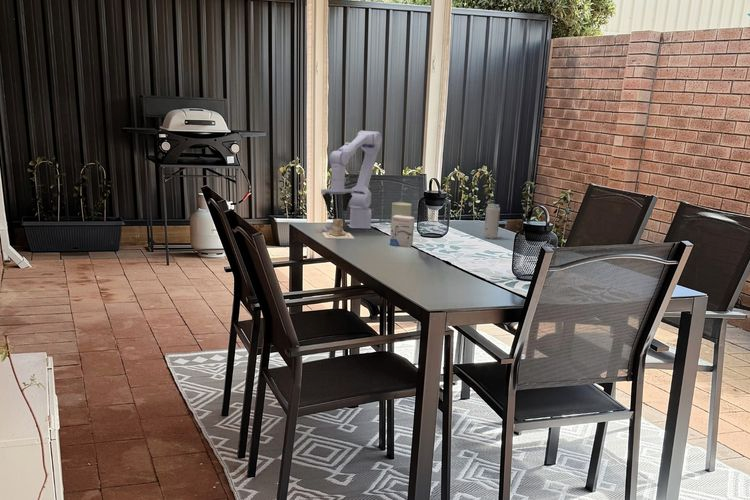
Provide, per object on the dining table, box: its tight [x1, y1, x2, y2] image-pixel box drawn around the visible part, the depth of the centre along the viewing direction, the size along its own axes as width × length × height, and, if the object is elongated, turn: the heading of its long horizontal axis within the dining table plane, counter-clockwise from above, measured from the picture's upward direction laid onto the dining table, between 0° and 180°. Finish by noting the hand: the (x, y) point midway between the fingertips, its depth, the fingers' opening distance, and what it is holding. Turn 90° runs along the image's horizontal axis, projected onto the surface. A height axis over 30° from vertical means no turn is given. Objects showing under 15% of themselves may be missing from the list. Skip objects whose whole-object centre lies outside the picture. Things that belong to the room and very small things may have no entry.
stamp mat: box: [321, 231, 356, 240], centre depth 284 cm, size 12×12×1 cm
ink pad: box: [322, 226, 344, 232], centre depth 296 cm, size 8×8×1 cm
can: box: [390, 201, 413, 229], centre depth 311 cm, size 9×9×12 cm
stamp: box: [329, 218, 347, 237], centre depth 283 cm, size 5×5×7 cm
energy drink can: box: [483, 203, 501, 240], centre depth 299 cm, size 6×6×15 cm
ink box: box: [389, 215, 415, 248], centre depth 271 cm, size 9×5×12 cm, turn 73°
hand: (336, 210), depth 292 cm, fingers open, 7 cm apart
